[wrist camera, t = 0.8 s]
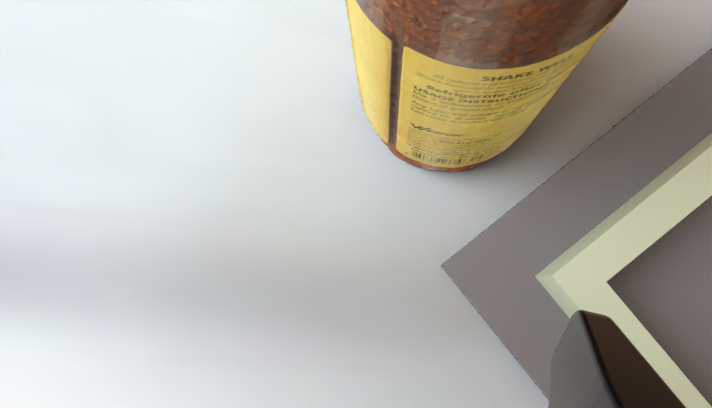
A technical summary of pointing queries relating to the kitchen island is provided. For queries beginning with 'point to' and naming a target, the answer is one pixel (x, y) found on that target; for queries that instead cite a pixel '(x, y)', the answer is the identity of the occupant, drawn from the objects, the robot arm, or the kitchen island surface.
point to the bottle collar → (633, 257)
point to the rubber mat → (582, 214)
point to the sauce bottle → (466, 70)
